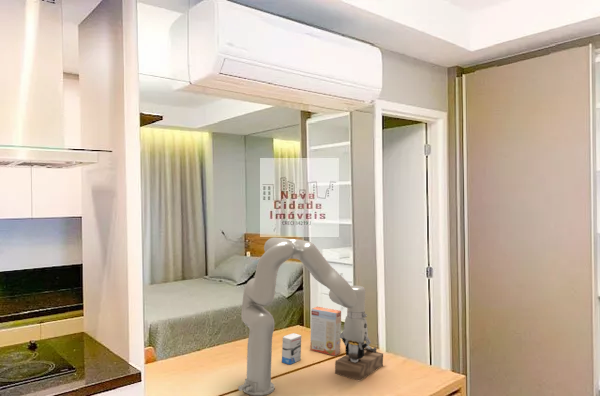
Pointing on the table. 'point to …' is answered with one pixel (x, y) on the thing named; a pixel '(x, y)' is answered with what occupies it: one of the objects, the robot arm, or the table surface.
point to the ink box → (291, 348)
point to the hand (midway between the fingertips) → (354, 355)
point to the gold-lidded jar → (353, 351)
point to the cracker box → (325, 330)
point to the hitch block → (359, 365)
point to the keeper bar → (369, 348)
